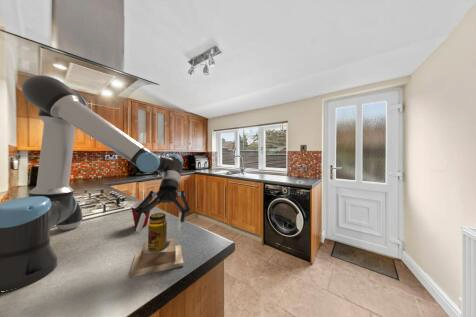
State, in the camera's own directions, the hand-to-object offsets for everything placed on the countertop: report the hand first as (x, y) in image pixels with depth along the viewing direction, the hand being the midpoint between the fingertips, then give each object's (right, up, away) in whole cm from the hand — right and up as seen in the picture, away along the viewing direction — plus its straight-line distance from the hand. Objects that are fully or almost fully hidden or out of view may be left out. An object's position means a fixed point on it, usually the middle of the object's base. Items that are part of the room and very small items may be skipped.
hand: (158, 231), depth 60 cm
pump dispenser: (-59, -10, +27) cm, 66 cm away
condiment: (-1, -6, +1) cm, 7 cm away
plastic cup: (-24, -11, +32) cm, 42 cm away
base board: (-1, -11, +1) cm, 11 cm away
